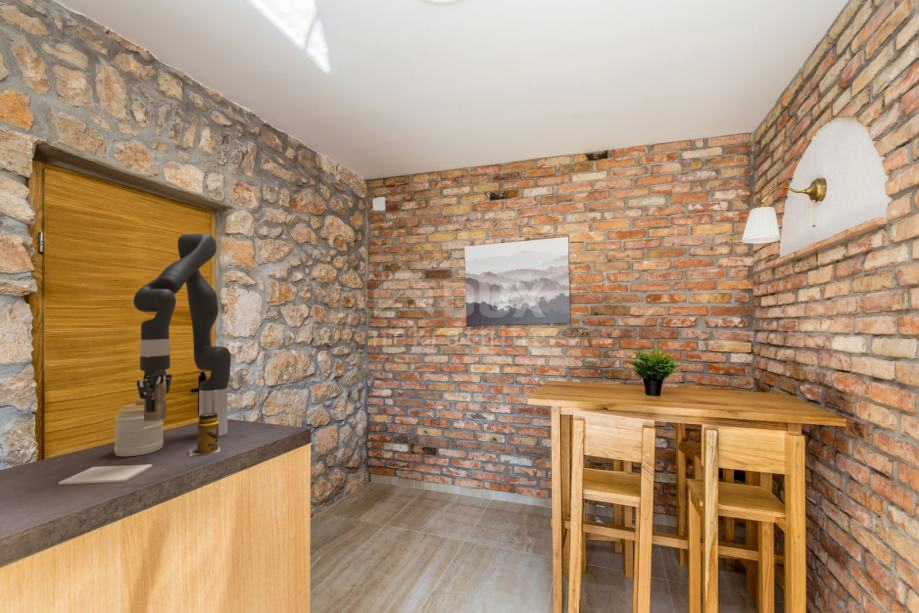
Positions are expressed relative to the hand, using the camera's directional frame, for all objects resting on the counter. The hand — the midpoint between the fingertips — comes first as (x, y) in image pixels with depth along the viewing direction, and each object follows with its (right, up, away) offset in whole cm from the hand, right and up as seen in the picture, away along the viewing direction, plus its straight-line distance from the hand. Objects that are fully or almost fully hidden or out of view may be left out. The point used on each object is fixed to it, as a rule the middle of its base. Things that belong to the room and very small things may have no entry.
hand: (155, 410), depth 129 cm
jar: (-13, -16, +11) cm, 24 cm away
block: (0, -3, 0) cm, 3 cm away
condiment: (+9, -16, +10) cm, 21 cm away
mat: (-5, -15, -11) cm, 20 cm away
